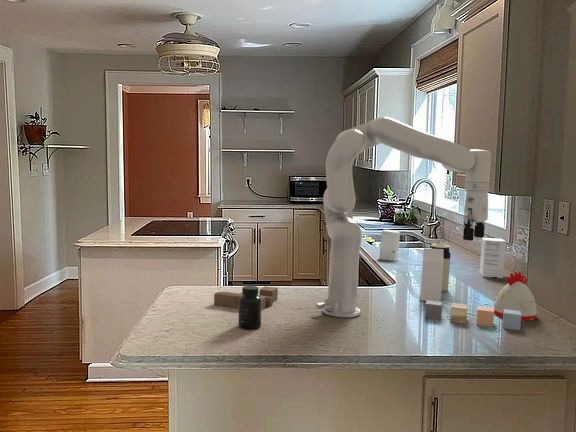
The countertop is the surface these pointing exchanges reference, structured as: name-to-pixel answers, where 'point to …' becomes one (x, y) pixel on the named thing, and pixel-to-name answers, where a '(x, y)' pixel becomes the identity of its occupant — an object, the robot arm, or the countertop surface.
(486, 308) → the terracotta block
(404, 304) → the countertop surface
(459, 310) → the maple block
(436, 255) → the milk carton
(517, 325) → the slate block
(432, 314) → the charcoal block
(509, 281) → the kitchen timer
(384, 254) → the skincare box
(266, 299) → the wooden block set
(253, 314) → the supplement bottle
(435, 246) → the travel mug
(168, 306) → the countertop surface
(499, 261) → the supplement box
